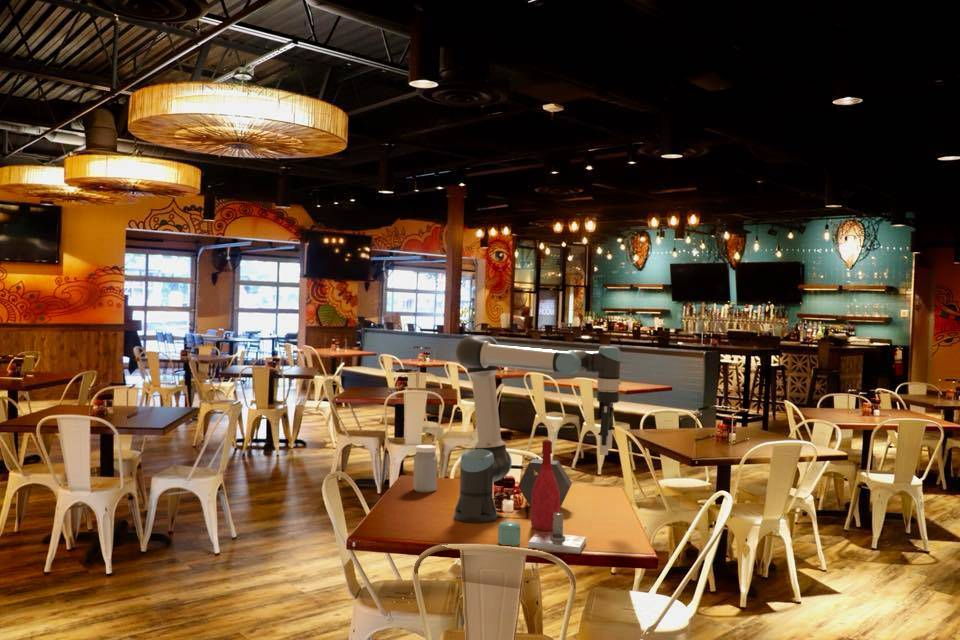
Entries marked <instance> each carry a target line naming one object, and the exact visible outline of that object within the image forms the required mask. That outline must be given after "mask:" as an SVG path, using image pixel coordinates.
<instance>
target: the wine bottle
mask: <svg viewBox="0 0 960 640" xmlns="http://www.w3.org/2000/svg"><path fill="white" fill-rule="evenodd" d="M541 443H542V444H541V445H542V449H541V453H542V460H543V461H542V465H541V470H540V473H539V475H538V474H537V475H538V477H537V479H536V481H535V484H534V487H533V490H532V496H531V507H530V524H531V527H532V528H533V529H535V530H538V531H541V532H543V531H544V532H550V531H551V532H553V513H561V507H560V492H559V487H558V484H557V481H556V479H555V476H554V474H553V471H552V466H551V460H552V458H551V457H552V454H553V446H552V445H553V443H552V441H551V440H547V439H545V440H543V441H542V442H541Z"/></svg>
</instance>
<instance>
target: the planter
mask: <svg viewBox="0 0 960 640" xmlns="http://www.w3.org/2000/svg"><path fill="white" fill-rule="evenodd" d="M542 461H543V459H535V458H532V459H531V460H530V461H529V462H528V465H527V466H526V468H525V470H524V473H523V475H522V478H521V479H520V481H519V484H518V486H517V487H518V489H519V492H521V494H522V496H523V497H524V499H525V501H526V502H527V505H528V506H529V507H530V508H531V496H532V490H533V487H534V484H535V481H536V479H537V477H538V475H539V473H540V470H541V465H542ZM551 466H552V471H553V474H554V476H555V479H556V481H557V484H558V487H559V492H560V508H561V507H562V505H563V503H564V501H565V499H566V497H567V495H568V493H569V490H570V488H571V486H572V484H573V482H572V481H571V478H570V477H569V475H568V474H567V472H566V470H565V469H564V468H563V465H562V464H561V462H560V461H559V460H554V459H553V460H552V459H551ZM535 473H537V474H535Z"/></svg>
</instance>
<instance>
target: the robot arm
mask: <svg viewBox="0 0 960 640" xmlns="http://www.w3.org/2000/svg"><path fill="white" fill-rule="evenodd" d="M455 357H456V359H457V361H458V363H459V364H460V365H462V366H463V367H465V368H466V370H467V374H468V375H469V376H470V377H471V379H472V390H473V392H472V393H473V401H474V413H475V420H476V424H475V425H476V433H477V442H476V443H475V445H474V449H469V450H466V451H464V452H463V453H462V454H461V456H460V457H461V458H460V462H459V467H460V468H459V469H460V474H459V478H460V479H459V497H458V500H457V502H456V503H457V504H456V505H455V508H454V512H453V513H454V515H453V517H454V519H455V520H457V521H461V522H465V523H474V524H477V523H490V522H494V521H495V520H497V518H498V512H497V508H496V504H495V500H494V498H493V497H494V495H493V491H494V490H493V489H494V487H493V484H494V482H499V481H500V480H502V479H503V478H505V477H506V476H507V475H508V474H509V473H510V471H511V468H512V462H513V461H512V457H511V455H510V453H509V452H508V451H507V447H506V446H507V445H506V442H505V441H503V439H502V436H501V435H502V434H501V427H500V426H501V425H500V415H499V406H498V405H499V404H498V396H497V395H498V394H497V385H496V374H497V373H498V372H499V367H500V368H510V369H520V370H528V371H529V370H530V371H531V370H532V371H538V372H539V371H540V372H549V373H550V372H551V373H558V374H563V375H568V376H571V375H575V374H579V373H595V374H597V386H596V387H597V388H596V389H597V390H598V391H597V392H596V401H597V402H598V403H603V405H602V406H601V410H600V412H601V416H600V417H601V418H600V419H601V420H600V429H599V432H598V436H599V438H600V442H599V455H601V456H602V455H603V456H608V455H609V449H610V450H611V449H612V448H613V431H615V426H614V409H615V408H614V404H617V403H619V402H620V401H619V399H620V392H619V390H620V385H622V382H621V381H620V374H621V361H622V360H621V349H620V348H619V347H618V346H606V345H602V346H599V348H598V351H591V350H578V349H573V350H572V349H571V350H567V351H565V350H556V349H555V350H553V349H544V348H532V347H522V346H514V345H513V346H511V345H501V344H499V343H498V341H497V340H496V339H495V338H493V337H491V336H487V335H477V336H476V335H474V336H473V335H471V336H470V335H469V336H465V337H464V338H462V339H461V340H460V341H459V342H457V345H456V348H455Z"/></svg>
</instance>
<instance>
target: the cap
mask: <svg viewBox="0 0 960 640" xmlns="http://www.w3.org/2000/svg"><path fill="white" fill-rule="evenodd" d="M497 529H498V530H497V531H498V532H497V544H499V543H500V544H502V545H501V546H503V545H512V546H511V547H516V546H519V545H520V544H521V524H520V523H519V522H516V521H501V522H499V523H498V528H497ZM500 544H499V545H500Z"/></svg>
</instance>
